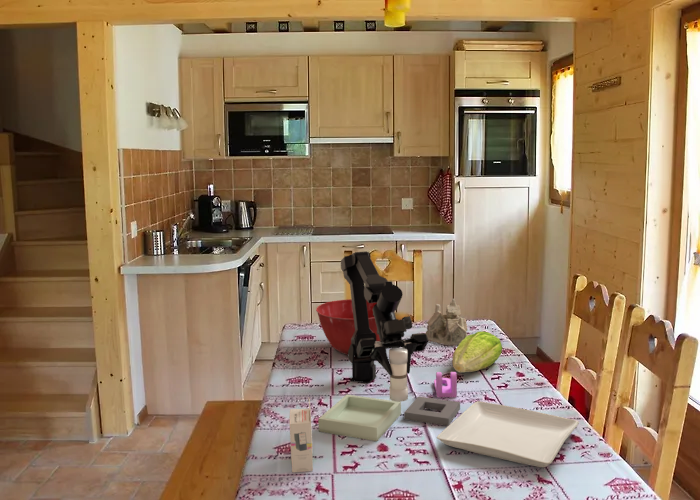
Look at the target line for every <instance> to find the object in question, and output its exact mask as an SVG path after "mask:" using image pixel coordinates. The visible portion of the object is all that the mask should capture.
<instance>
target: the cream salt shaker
mask: <svg viewBox="0 0 700 500" xmlns="http://www.w3.org/2000/svg"><path fill="white" fill-rule="evenodd" d="M388 360H389V363H390V366H391V369H392V376H390V375H389V379H390V380H389V390H388V391H389V400H391V401H396V402H401V403H402V402H405V401H407V400H409V389H408V388H409V386H408V374H407V362H408V350H407V349H405V348H402V347H399V348H389V349H388Z"/></svg>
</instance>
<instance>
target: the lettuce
mask: <svg viewBox="0 0 700 500" xmlns="http://www.w3.org/2000/svg"><path fill="white" fill-rule="evenodd" d="M502 351H503V345H502V342H501V340H500V338H499V337H498V336H496V335H494V334H492V333H490V332H488V331H485V330H483V331H476V332H475V333H472V334H468V336H467V337H466V338H464V339H463V340H462V341H461V343H460V344H459V345H457V347H456V348H455V349H454V351H453V354H452V367H453V368H454V370H455V372H458V373H471V372H476V371H479V370H484V369H487V368H488V367H490V366H492V365H493V364H494V363H496V362H497V360H498V359H499V358H500V356H501V355H502Z"/></svg>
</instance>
